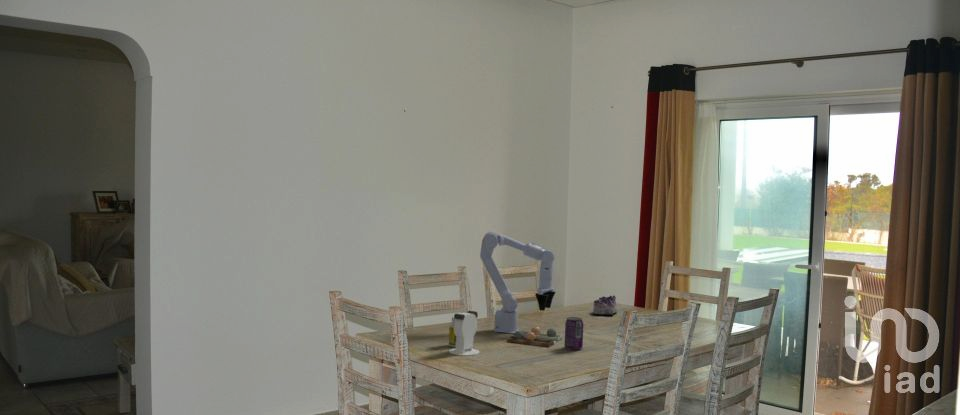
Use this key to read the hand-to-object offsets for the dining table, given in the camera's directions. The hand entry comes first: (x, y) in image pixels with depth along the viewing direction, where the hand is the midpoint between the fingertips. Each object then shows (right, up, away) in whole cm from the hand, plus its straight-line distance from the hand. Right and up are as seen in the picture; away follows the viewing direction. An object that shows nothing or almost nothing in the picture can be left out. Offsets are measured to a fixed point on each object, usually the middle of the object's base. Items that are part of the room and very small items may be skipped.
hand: (544, 309), depth 329 cm
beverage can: (+9, -12, -29) cm, 32 cm away
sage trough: (-4, -11, -13) cm, 17 cm away
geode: (+36, -10, +57) cm, 68 cm away
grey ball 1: (-12, -8, -20) cm, 25 cm away
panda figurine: (-34, -11, -42) cm, 55 cm away
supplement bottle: (-37, -10, -32) cm, 50 cm away
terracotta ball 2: (-5, -8, -10) cm, 14 cm away
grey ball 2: (+2, -8, -13) cm, 15 cm away
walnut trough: (-8, -11, -22) cm, 25 cm away
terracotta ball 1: (-8, -8, -22) cm, 24 cm away
